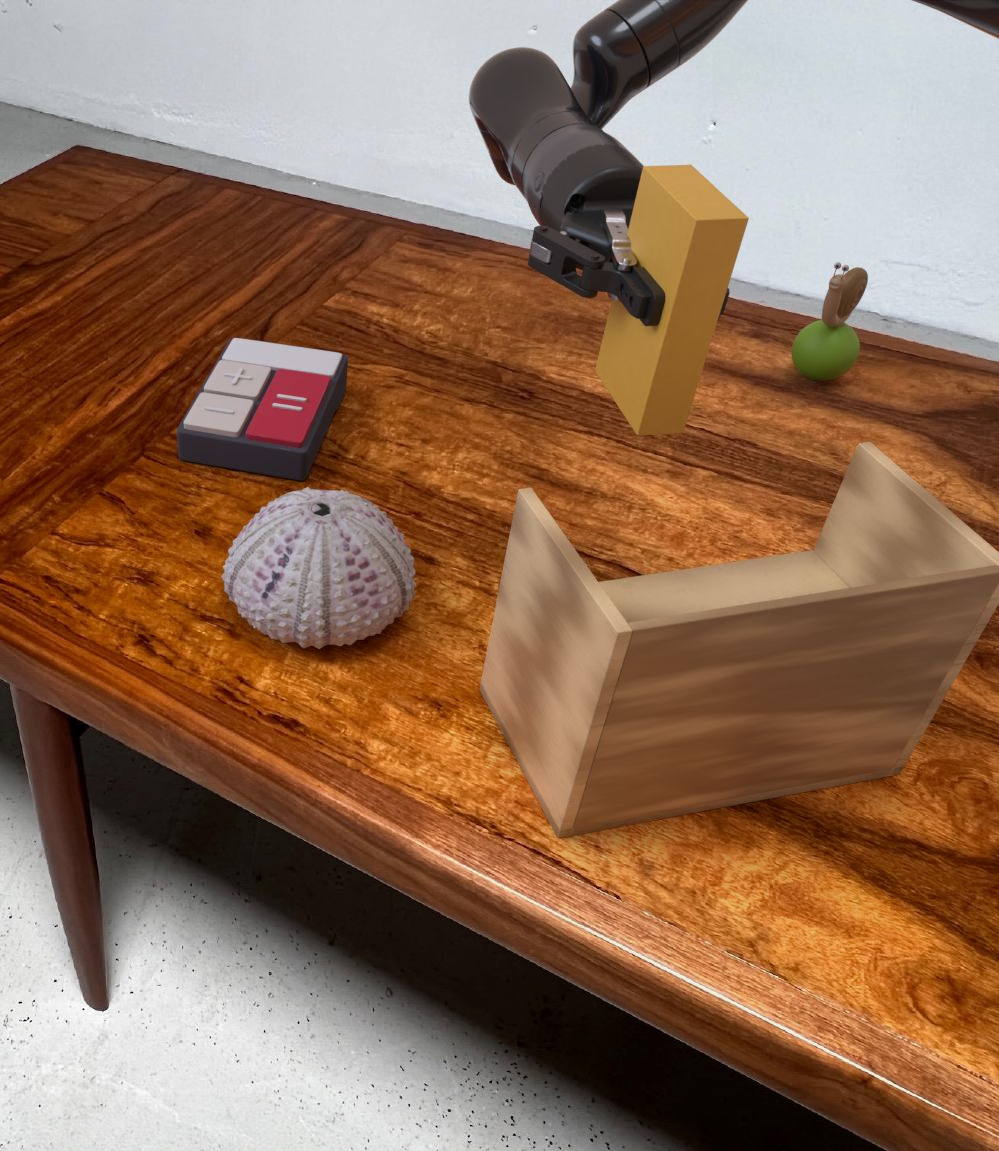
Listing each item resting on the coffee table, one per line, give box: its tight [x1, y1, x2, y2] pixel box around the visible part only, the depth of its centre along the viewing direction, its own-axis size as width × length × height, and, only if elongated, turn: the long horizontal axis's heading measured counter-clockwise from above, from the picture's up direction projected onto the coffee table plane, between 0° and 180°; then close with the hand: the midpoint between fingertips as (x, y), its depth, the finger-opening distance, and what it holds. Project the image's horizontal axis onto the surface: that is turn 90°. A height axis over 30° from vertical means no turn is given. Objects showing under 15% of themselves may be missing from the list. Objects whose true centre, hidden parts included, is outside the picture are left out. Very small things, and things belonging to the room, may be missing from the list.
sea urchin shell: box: [220, 486, 417, 650], centre depth 77 cm, size 13×14×8 cm
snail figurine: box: [790, 261, 869, 382], centre depth 99 cm, size 5×6×12 cm
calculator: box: [176, 337, 349, 482], centre depth 96 cm, size 11×4×15 cm
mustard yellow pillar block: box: [594, 164, 750, 436], centre depth 69 cm, size 3×8×14 cm, turn 5°
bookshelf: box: [479, 441, 999, 839], centre depth 65 cm, size 12×22×16 cm, turn 102°
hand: (685, 310), depth 66 cm, fingers closed on mustard yellow pillar block, 3 cm apart
